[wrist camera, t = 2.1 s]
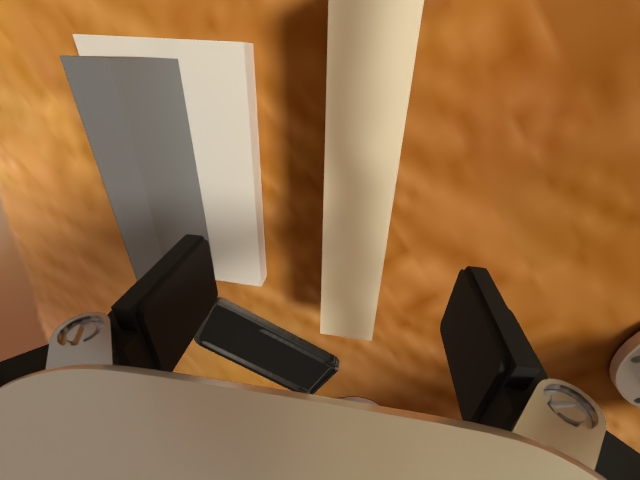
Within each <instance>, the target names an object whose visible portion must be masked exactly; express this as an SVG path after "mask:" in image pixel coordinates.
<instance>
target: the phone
mask: <svg viewBox="0 0 640 480" xmlns="http://www.w3.org/2000/svg"><path fill="white" fill-rule="evenodd" d="M194 340H195V342H196V343H197V344H199V345H200V346H202V347H204V348H206V349H208V350H210V351H212V352H214V353H216V354H218V355H220V356H222V357H224V358H226V359H228V360H230V361H232V362H235V363H237V364H239V365H241V366H243V367H245V368H247V369H249V370H251V371H253V372H255V373H257V374H259V375H261V376H263V377H265V378H267V379H269V380H271V381H273V382H275V383H277V384H279V385H281V386H283V387H285V388H287V389H289V390H291V391H294V392H300V393H306V394H312V395H313V394H314V393H315V392H316V391H317V390H318V389H319V388H320V387H321V386H322V385H323V384H324V383H325V382H327V381H328V380H329V379H330V378H331V377H332V376H333V375H334V374H335V373H336V372H337V371H338V367H339V360H338V358H337V357H335V356H334V355H332V354H330V353H328V352H326V351H324V350H322V349H320V348H319V347H317V346H315V345H313V344H311V343H309V342H307V341H305V340H303V339H301V338H299V337H297V336H296V335H294V334H292V333H290V332H288V331H286V330H284V329H282V328H280V327H278V326H276V325H274V324H273V323H271V322H269V321H267V320H265V319H263V318H261V317H259V316H257V315H255V314H253V313H251V312H250V311H248V310H246V309H244V308H242V307H240V306H238V305H236V304H234V303H232V302H230V301H228V300H226V299H224V298H220V297H219V298H217V300H216V302H215V304H214V306H213V307H212V309H211V310H210V312H209V314H208V315H207V317H206V318H205V320H204V322H203V323H202V325H201V326H200V328H199V330H198V331H197V333H196V334H195V336H194Z"/></svg>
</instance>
